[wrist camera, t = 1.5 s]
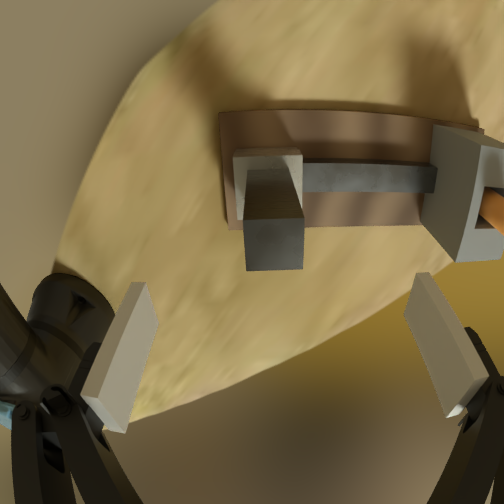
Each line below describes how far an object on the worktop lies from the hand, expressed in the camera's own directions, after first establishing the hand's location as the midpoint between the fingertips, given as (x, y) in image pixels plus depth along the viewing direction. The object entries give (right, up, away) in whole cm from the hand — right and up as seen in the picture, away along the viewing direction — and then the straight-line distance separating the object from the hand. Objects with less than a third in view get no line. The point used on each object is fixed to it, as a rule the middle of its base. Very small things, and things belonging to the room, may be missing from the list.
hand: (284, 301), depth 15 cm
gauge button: (+22, +8, +12) cm, 26 cm away
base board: (+11, +11, +17) cm, 23 cm away
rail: (+8, +11, +17) cm, 21 cm away
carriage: (0, +10, +17) cm, 20 cm away
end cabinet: (+22, +11, +16) cm, 30 cm away
